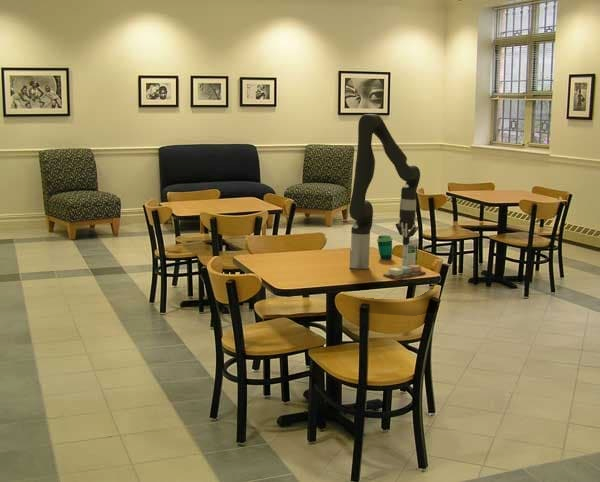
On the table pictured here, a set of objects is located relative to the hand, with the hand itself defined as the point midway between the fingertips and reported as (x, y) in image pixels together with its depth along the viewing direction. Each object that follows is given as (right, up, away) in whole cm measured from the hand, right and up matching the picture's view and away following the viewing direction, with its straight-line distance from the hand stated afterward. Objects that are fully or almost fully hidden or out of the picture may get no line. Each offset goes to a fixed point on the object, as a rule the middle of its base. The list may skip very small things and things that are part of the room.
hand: (405, 244), depth 380 cm
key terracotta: (+5, -14, +7) cm, 16 cm away
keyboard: (0, -15, +3) cm, 15 cm away
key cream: (-5, -15, -2) cm, 16 cm away
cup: (-6, -8, +41) cm, 42 cm away
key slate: (0, -14, +3) cm, 15 cm away
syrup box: (+5, -11, +23) cm, 26 cm away
